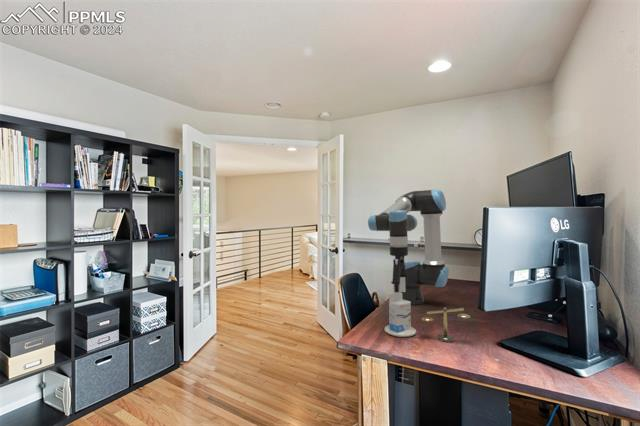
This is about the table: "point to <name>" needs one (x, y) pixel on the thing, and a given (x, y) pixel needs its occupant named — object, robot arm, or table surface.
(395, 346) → the table surface
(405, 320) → the ink box
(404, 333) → the dish
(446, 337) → the balance
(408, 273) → the robot arm
